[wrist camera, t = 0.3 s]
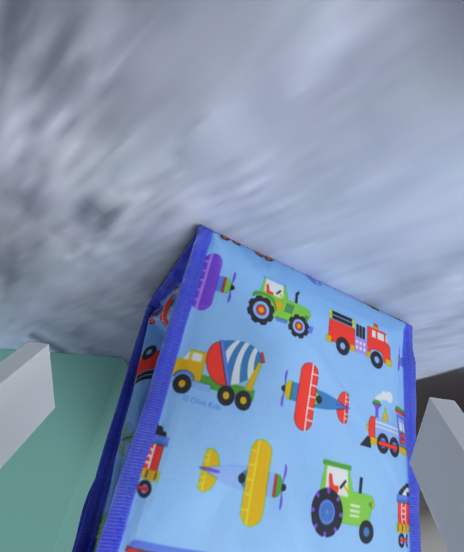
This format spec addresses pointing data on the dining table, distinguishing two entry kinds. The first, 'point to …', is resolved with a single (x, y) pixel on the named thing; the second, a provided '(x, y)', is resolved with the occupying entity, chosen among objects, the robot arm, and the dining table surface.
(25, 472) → the box
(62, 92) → the dining table surface
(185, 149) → the dining table surface
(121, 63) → the dining table surface
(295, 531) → the lunch bag
